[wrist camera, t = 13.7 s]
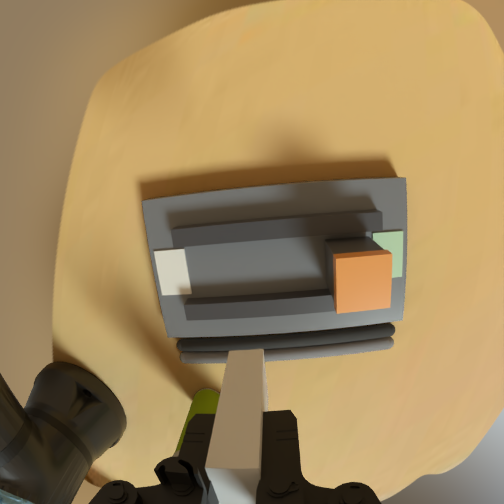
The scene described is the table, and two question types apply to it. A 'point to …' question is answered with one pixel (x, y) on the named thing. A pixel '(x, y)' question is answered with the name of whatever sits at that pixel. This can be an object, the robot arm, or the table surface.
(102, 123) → the table surface
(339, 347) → the grey twin rods
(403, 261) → the panel
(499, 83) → the table surface
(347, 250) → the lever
